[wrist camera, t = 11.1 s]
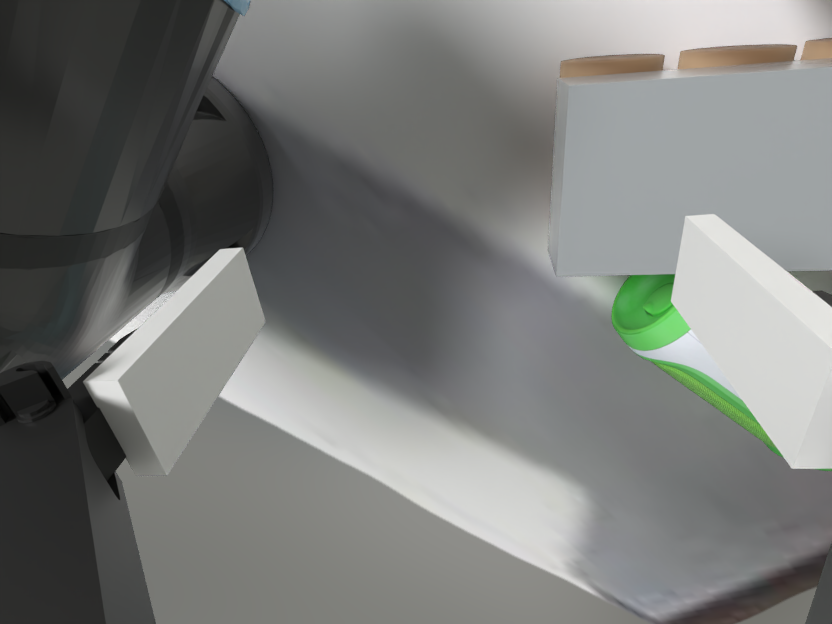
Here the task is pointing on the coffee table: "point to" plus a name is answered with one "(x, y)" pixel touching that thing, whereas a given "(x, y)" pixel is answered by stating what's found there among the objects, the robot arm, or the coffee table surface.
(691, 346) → the speaker
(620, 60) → the roller bed
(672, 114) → the slab
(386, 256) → the coffee table surface
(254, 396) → the coffee table surface
